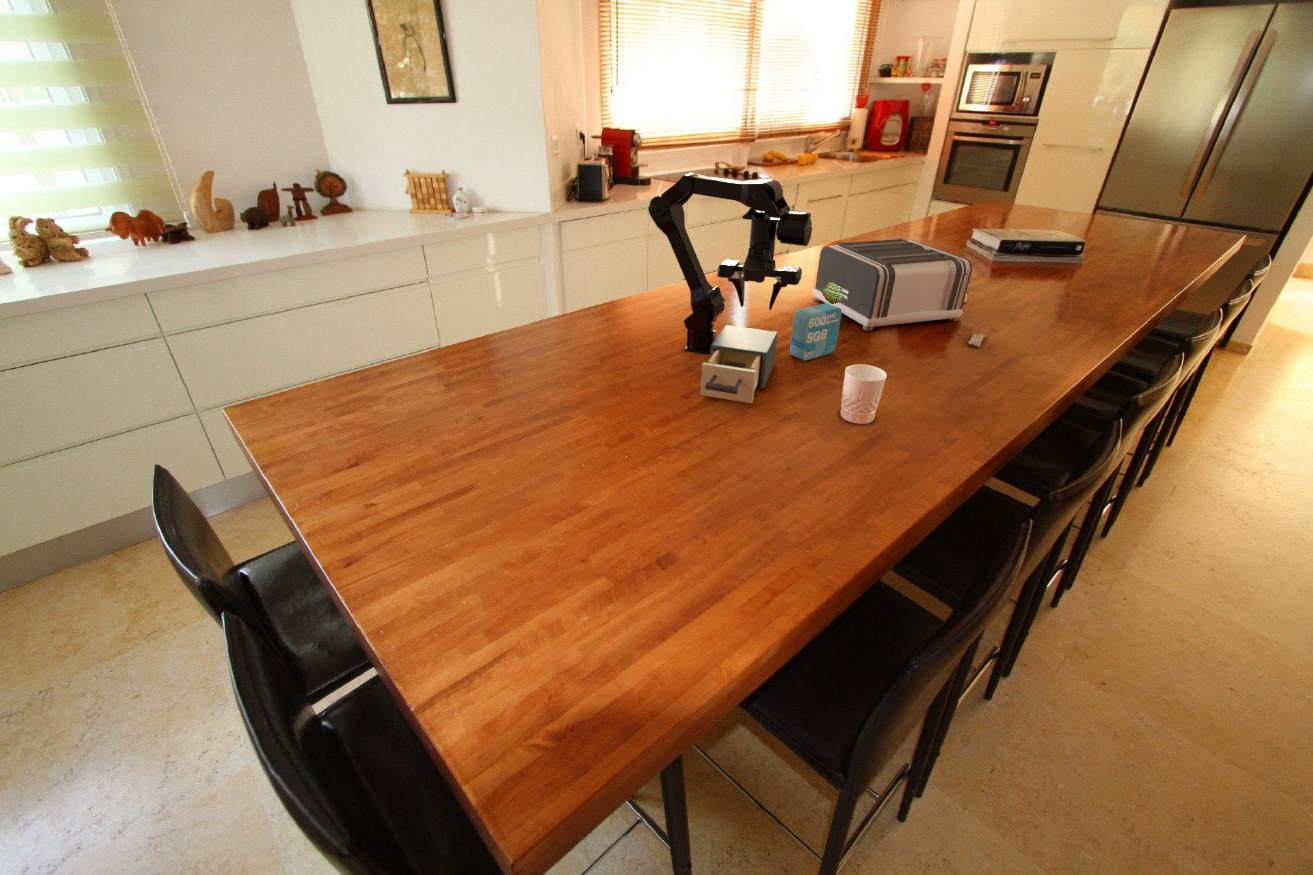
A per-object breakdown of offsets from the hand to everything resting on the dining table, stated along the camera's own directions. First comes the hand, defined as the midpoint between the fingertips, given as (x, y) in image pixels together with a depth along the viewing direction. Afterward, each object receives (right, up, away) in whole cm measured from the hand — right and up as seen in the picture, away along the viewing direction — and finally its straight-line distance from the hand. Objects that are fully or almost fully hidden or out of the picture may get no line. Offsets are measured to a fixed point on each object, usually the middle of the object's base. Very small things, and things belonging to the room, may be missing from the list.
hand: (756, 308), depth 141 cm
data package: (+16, -10, +9) cm, 21 cm away
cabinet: (-3, -16, -1) cm, 16 cm away
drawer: (-8, -21, -12) cm, 25 cm away
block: (-7, -19, -11) cm, 23 cm away
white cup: (+18, -27, -19) cm, 37 cm away
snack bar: (+62, -5, +17) cm, 64 cm away
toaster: (+47, +8, +40) cm, 62 cm away
